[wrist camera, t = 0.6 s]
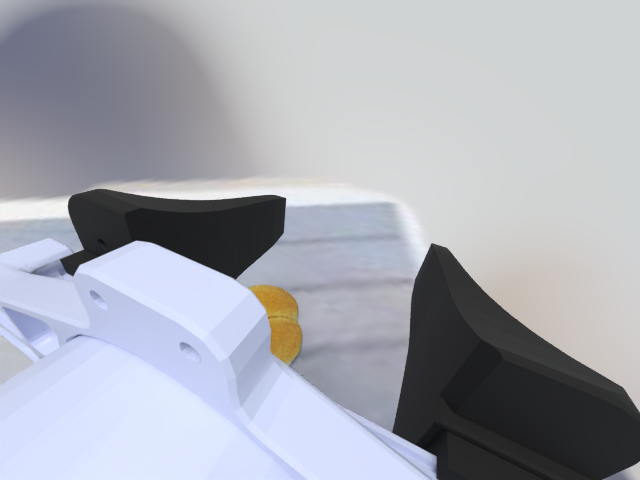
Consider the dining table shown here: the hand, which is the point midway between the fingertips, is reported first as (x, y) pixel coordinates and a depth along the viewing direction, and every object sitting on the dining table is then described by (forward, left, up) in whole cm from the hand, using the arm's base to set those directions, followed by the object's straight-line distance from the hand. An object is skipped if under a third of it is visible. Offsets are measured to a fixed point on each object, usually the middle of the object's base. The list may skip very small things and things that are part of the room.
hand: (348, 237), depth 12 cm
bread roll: (-3, +6, -18) cm, 19 cm away
